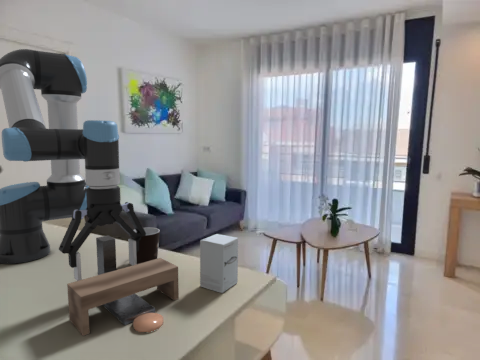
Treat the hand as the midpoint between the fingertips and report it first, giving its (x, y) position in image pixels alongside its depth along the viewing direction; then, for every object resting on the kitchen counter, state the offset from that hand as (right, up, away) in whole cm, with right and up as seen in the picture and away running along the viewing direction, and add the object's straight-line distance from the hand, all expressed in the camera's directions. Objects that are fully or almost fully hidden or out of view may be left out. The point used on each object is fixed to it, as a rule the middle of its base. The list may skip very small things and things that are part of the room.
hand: (107, 271), depth 82 cm
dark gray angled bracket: (+5, -6, -5) cm, 9 cm away
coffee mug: (+4, -3, +22) cm, 23 cm away
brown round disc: (+14, -8, -13) cm, 21 cm away
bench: (+7, -6, -7) cm, 12 cm away
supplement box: (+27, -5, +6) cm, 28 cm away
